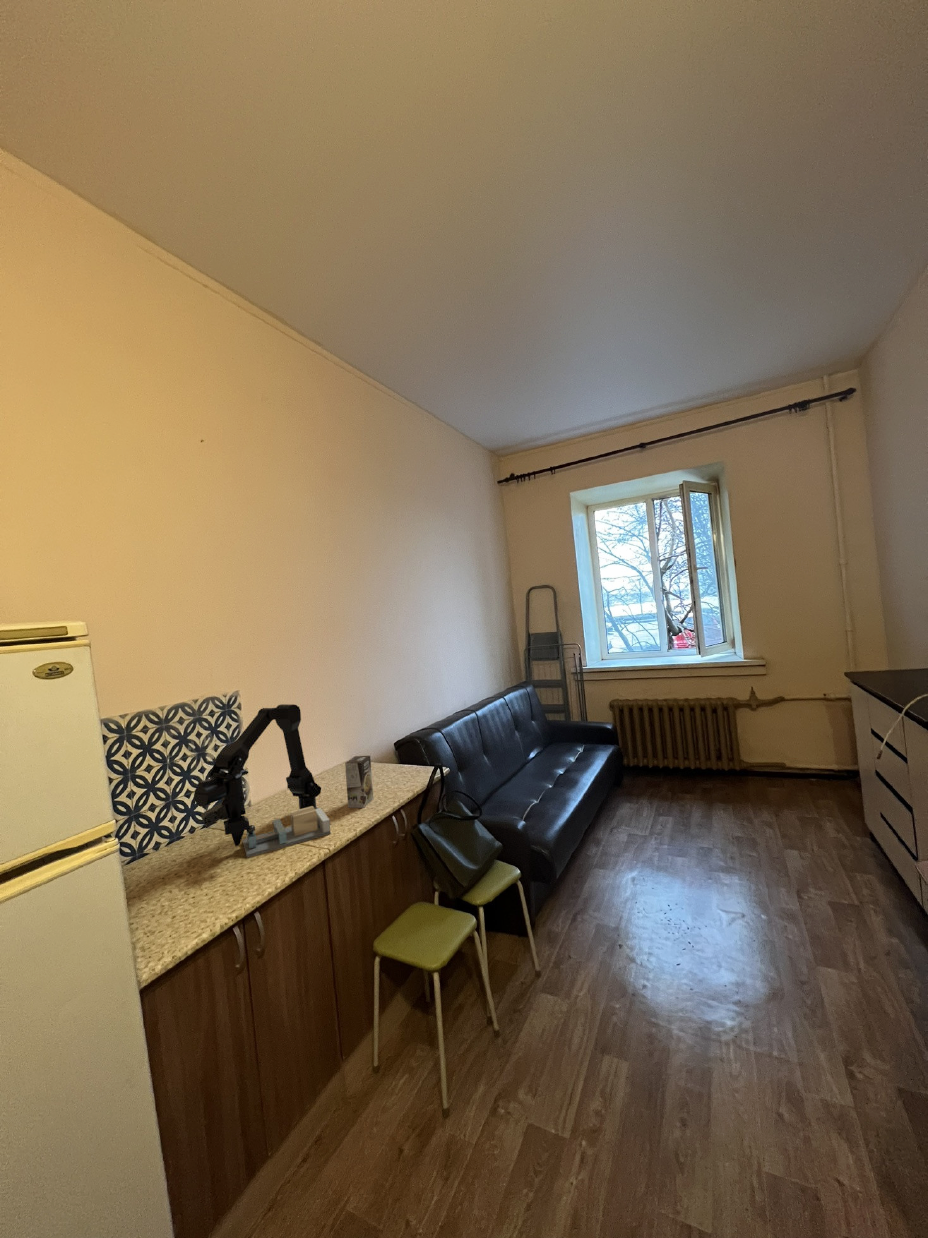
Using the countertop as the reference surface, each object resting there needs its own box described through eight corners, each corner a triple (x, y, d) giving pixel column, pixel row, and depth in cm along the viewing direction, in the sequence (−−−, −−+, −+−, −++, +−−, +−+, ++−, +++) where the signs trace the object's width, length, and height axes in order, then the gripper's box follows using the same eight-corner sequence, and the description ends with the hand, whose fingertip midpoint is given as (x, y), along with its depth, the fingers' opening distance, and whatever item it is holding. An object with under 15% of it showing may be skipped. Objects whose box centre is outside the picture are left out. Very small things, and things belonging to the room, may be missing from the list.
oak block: (291, 830, 153) (290, 811, 153) (314, 824, 156) (312, 806, 156) (294, 836, 148) (293, 816, 148) (317, 829, 152) (316, 810, 152)
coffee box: (364, 808, 170) (360, 762, 170) (347, 808, 171) (344, 762, 171) (374, 798, 179) (371, 755, 179) (358, 798, 180) (354, 755, 180)
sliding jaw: (245, 837, 149) (244, 819, 149) (280, 828, 154) (278, 811, 154) (249, 852, 139) (248, 833, 139) (286, 842, 144) (285, 823, 144)
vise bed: (243, 842, 149) (241, 828, 149) (321, 821, 161) (320, 808, 161) (247, 858, 138) (245, 842, 138) (330, 834, 150) (329, 819, 150)
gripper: (201, 791, 147) (205, 842, 147) (202, 810, 130) (207, 867, 130) (241, 782, 152) (245, 831, 152) (247, 800, 136) (251, 854, 136)
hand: (237, 845), depth 143 cm, fingers closed
